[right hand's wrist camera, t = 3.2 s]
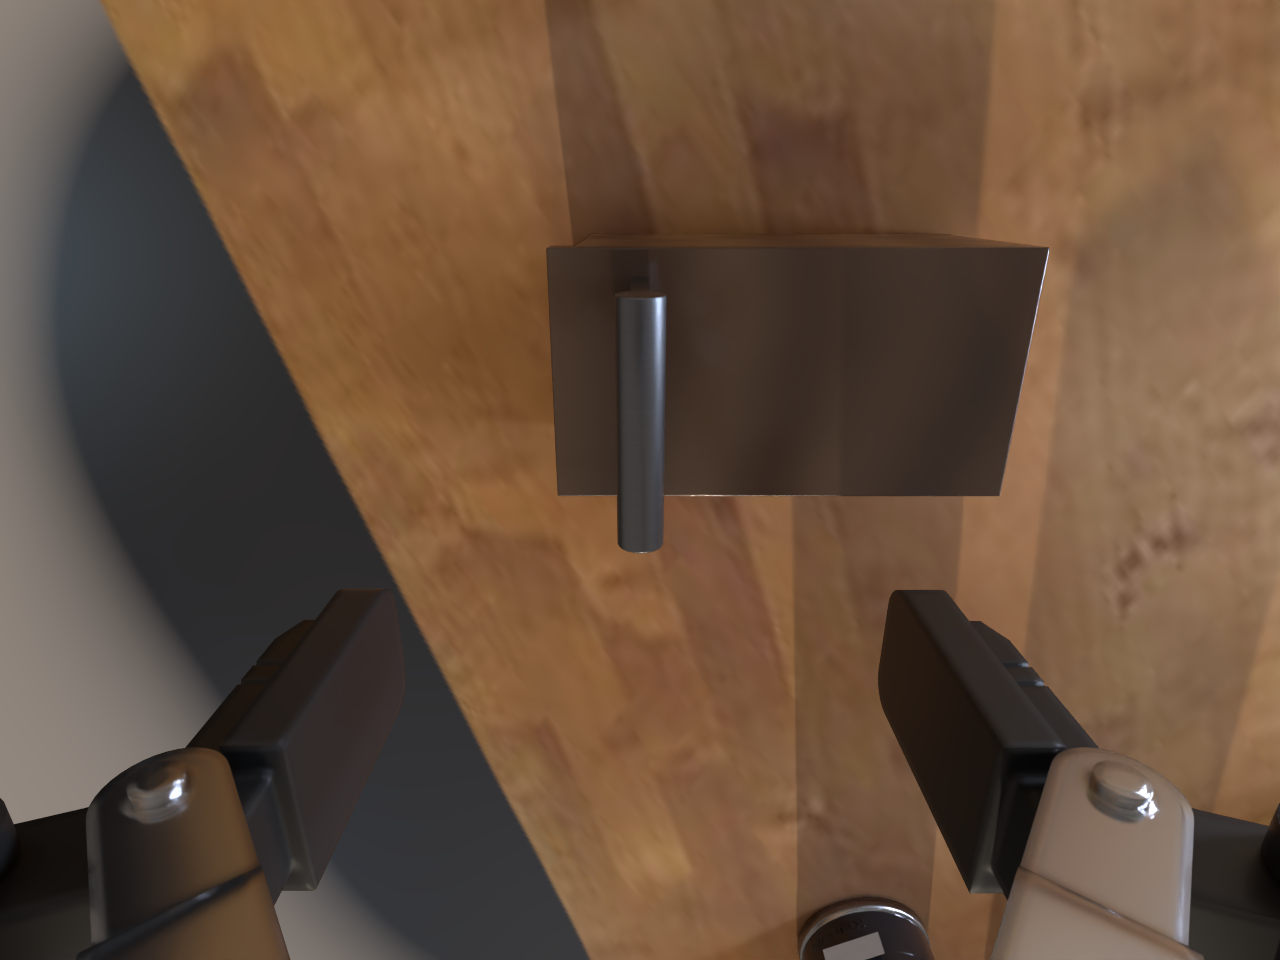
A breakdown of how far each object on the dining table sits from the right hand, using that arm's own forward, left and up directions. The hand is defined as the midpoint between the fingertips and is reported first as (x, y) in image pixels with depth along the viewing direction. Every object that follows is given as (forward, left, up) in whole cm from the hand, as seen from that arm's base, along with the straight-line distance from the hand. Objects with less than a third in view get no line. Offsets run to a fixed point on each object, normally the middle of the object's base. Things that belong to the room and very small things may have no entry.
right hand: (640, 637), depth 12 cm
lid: (-3, -5, -18) cm, 19 cm away
